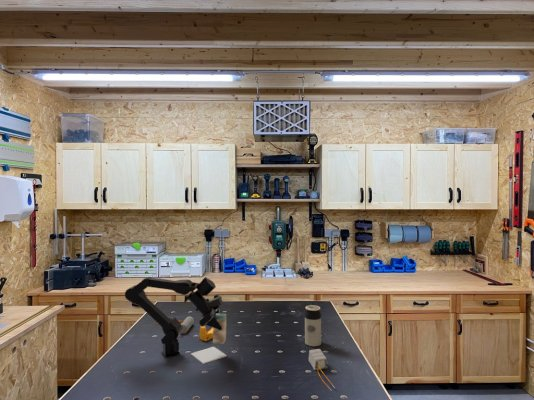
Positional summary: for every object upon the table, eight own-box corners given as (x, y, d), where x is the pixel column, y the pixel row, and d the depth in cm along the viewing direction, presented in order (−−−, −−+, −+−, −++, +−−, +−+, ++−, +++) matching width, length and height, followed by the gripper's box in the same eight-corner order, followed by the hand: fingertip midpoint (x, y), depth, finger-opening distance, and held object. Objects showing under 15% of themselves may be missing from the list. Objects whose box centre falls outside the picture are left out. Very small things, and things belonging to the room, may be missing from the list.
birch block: (212, 343, 158) (213, 317, 158) (215, 338, 163) (216, 313, 163) (223, 343, 157) (224, 317, 157) (225, 339, 162) (226, 313, 162)
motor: (196, 321, 203) (194, 313, 203) (185, 337, 181) (183, 327, 181) (157, 328, 204) (156, 319, 204) (142, 343, 182) (140, 334, 182)
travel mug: (309, 338, 177) (309, 304, 177) (323, 342, 173) (323, 306, 173) (302, 344, 171) (301, 308, 171) (316, 348, 166) (316, 311, 166)
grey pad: (203, 364, 151) (203, 363, 151) (190, 354, 160) (190, 353, 160) (226, 356, 158) (226, 355, 158) (213, 347, 168) (213, 346, 168)
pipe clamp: (205, 341, 175) (205, 328, 175) (199, 339, 178) (199, 327, 178) (222, 334, 185) (222, 322, 185) (216, 332, 188) (216, 320, 188)
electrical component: (344, 396, 132) (345, 384, 131) (330, 399, 130) (331, 387, 129) (318, 357, 154) (319, 347, 153) (306, 358, 153) (307, 348, 152)
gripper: (207, 296, 151) (231, 322, 150) (216, 285, 169) (238, 309, 169) (189, 313, 151) (213, 339, 151) (200, 300, 170) (222, 324, 169)
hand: (222, 327), depth 160 cm, fingers closed on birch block, 5 cm apart
